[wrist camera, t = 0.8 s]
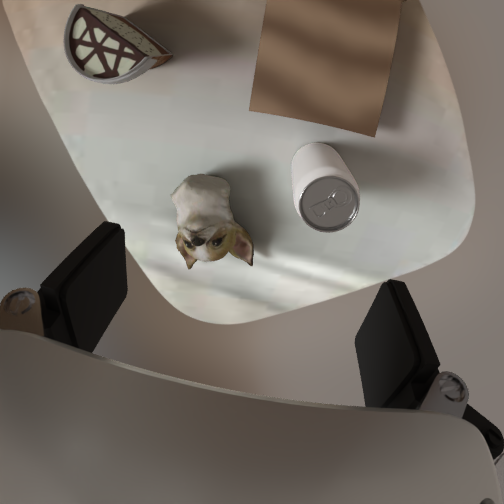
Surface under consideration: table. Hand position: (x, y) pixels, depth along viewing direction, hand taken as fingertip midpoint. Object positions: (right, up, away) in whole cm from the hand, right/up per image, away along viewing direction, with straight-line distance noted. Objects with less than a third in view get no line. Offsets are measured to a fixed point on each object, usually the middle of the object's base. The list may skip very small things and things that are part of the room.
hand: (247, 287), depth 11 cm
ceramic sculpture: (-5, +6, +32) cm, 33 cm away
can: (+8, +12, +27) cm, 31 cm away
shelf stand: (+8, +25, +19) cm, 32 cm away
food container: (-15, +26, +20) cm, 36 cm away
